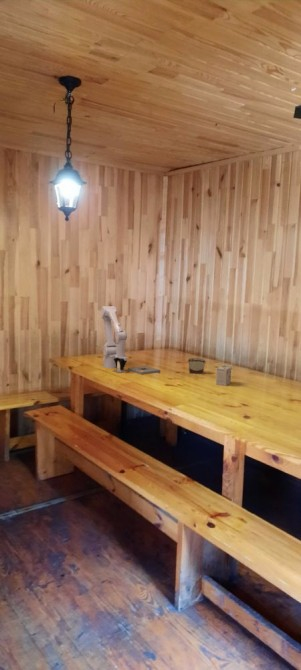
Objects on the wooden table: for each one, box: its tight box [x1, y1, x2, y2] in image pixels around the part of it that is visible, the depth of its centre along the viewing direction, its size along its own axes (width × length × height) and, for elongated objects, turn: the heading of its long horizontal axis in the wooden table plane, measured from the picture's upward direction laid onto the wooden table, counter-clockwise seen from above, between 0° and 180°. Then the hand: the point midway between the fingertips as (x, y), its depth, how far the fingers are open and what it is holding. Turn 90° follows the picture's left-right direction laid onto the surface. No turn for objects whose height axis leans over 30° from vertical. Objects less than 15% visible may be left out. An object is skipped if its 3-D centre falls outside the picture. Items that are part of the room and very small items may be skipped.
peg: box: [116, 361, 123, 372], centre depth 330 cm, size 4×4×7 cm
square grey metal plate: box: [112, 369, 128, 374], centre depth 331 cm, size 8×8×1 cm
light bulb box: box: [215, 365, 233, 387], centre depth 309 cm, size 11×7×11 cm, turn 154°
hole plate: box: [127, 365, 161, 376], centre depth 334 cm, size 16×16×3 cm
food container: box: [187, 357, 207, 375], centre depth 339 cm, size 12×6×10 cm, turn 84°
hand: (120, 369), depth 330 cm, fingers closed on peg, 4 cm apart
